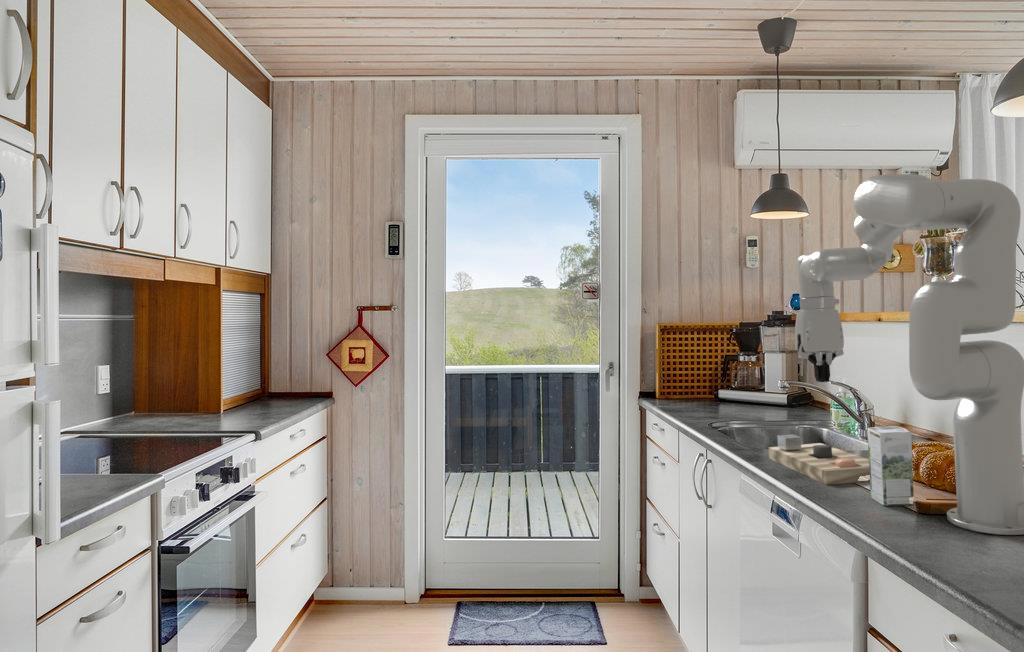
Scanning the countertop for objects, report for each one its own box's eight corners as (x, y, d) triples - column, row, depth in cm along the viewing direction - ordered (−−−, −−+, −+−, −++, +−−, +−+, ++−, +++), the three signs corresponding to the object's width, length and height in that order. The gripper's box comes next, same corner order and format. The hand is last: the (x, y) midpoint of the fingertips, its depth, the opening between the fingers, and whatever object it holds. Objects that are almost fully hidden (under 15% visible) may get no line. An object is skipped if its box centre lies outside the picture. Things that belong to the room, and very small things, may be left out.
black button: (835, 461, 153) (835, 447, 153) (819, 462, 153) (818, 449, 152) (826, 457, 157) (825, 444, 157) (810, 458, 157) (809, 445, 156)
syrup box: (900, 497, 130) (896, 424, 129) (915, 506, 124) (911, 430, 124) (870, 498, 130) (866, 426, 130) (884, 507, 124) (879, 431, 124)
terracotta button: (859, 475, 144) (858, 461, 144) (842, 477, 144) (841, 463, 144) (848, 471, 148) (848, 457, 148) (832, 473, 148) (831, 459, 148)
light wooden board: (887, 479, 142) (886, 465, 142) (826, 484, 141) (825, 471, 141) (821, 454, 168) (820, 442, 168) (769, 458, 167) (768, 447, 167)
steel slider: (801, 449, 162) (800, 437, 161) (785, 450, 161) (785, 438, 161) (793, 446, 166) (792, 434, 165) (778, 447, 165) (777, 435, 165)
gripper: (838, 303, 160) (843, 378, 160) (779, 307, 159) (785, 382, 159) (856, 302, 152) (862, 380, 152) (795, 306, 151) (800, 385, 151)
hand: (822, 381), depth 156 cm, fingers closed
